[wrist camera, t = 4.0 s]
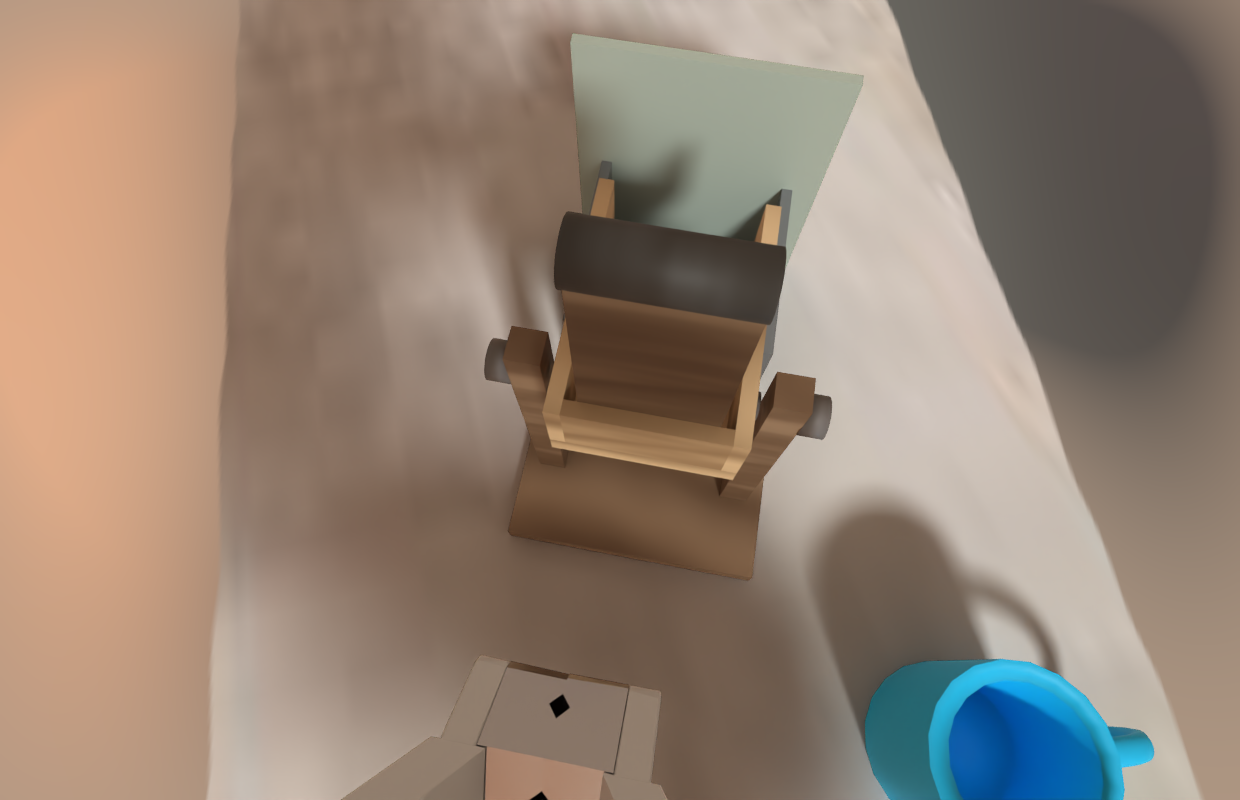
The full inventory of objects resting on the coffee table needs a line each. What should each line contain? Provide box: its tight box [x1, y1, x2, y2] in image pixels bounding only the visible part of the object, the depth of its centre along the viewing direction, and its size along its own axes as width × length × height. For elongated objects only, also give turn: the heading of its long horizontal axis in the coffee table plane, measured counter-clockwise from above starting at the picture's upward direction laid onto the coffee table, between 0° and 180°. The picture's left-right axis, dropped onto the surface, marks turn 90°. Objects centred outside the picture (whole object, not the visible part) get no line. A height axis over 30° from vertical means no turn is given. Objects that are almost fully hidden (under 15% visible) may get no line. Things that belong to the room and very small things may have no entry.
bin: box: [563, 33, 864, 379], centre depth 39 cm, size 11×14×16 cm
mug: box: [865, 659, 1154, 800], centre depth 33 cm, size 12×8×8 cm
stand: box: [484, 326, 832, 580], centre depth 35 cm, size 10×14×16 cm
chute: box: [542, 178, 787, 480], centre depth 23 cm, size 10×9×15 cm
